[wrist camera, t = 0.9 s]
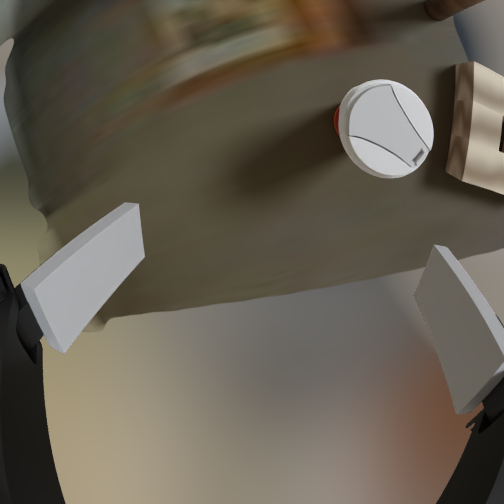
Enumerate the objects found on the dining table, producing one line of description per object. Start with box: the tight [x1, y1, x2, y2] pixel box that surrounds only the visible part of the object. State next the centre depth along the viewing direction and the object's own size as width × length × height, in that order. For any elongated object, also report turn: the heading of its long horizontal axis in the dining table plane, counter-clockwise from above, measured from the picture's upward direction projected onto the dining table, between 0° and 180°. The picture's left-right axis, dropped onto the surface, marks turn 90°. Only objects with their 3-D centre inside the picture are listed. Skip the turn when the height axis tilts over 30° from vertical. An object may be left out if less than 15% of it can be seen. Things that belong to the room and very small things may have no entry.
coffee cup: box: [334, 80, 434, 178], centre depth 24 cm, size 8×8×15 cm
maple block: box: [445, 61, 504, 195], centre depth 24 cm, size 16×16×5 cm
